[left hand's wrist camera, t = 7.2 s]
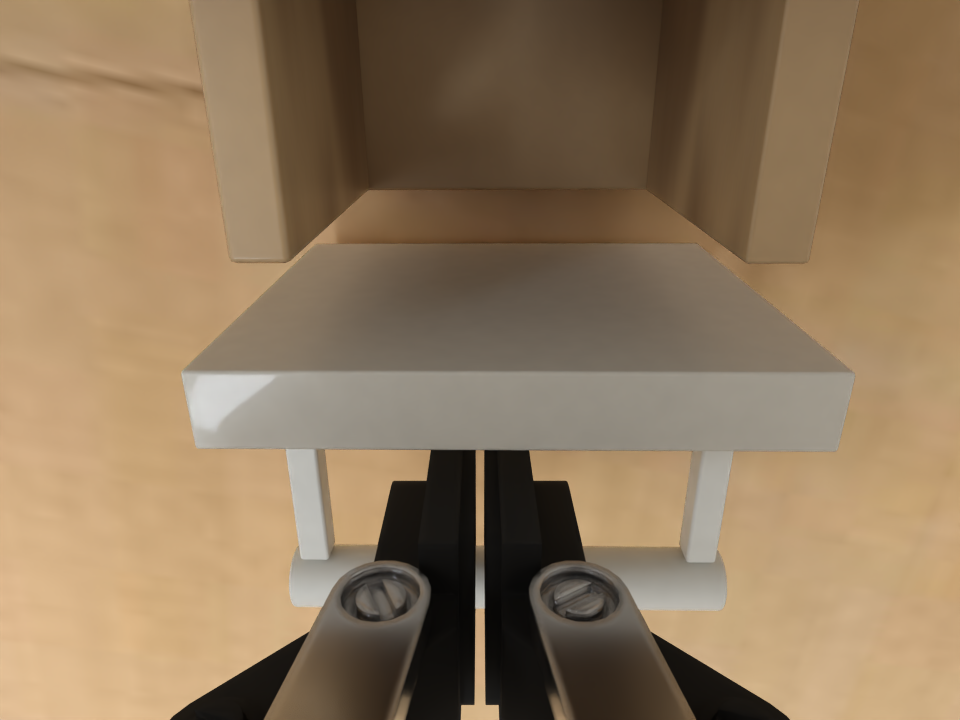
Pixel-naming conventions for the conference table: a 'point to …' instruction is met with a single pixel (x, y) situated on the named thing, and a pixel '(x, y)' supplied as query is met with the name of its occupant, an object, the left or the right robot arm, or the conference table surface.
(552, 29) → the drawer
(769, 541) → the conference table surface
